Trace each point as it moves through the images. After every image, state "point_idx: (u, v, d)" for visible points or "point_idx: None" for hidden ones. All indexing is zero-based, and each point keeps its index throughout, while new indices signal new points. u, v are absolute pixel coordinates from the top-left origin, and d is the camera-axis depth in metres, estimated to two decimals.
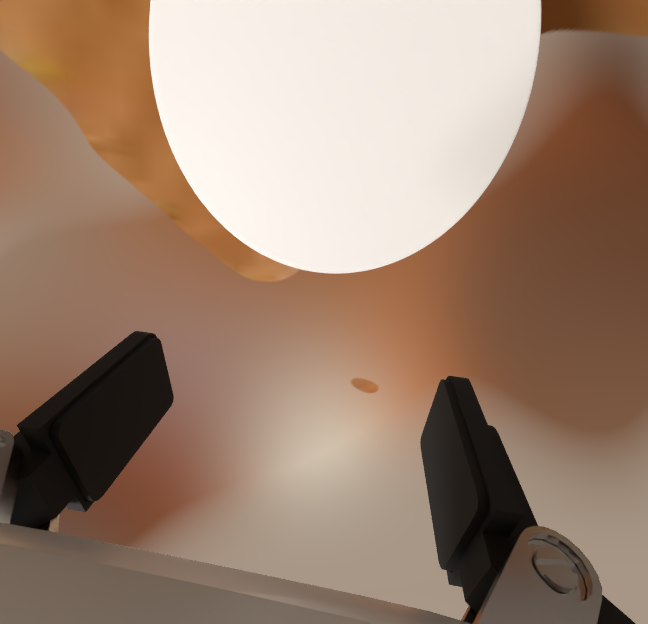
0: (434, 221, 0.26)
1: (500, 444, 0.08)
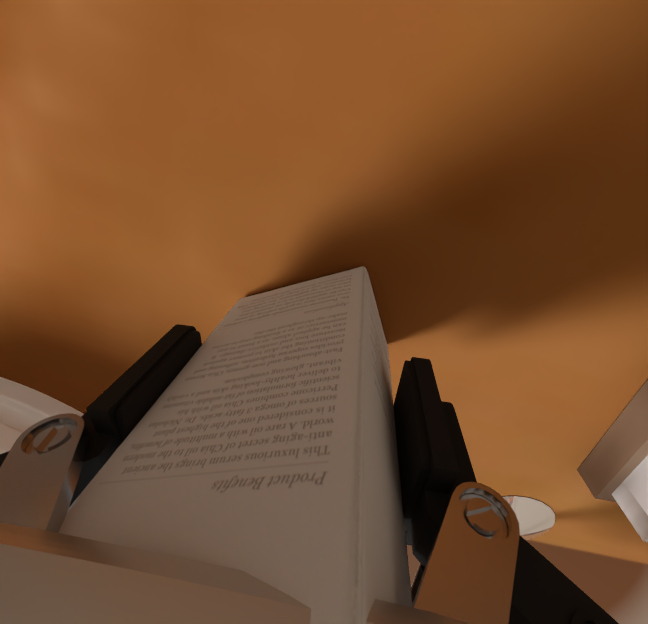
0: None
1: (455, 418, 0.09)
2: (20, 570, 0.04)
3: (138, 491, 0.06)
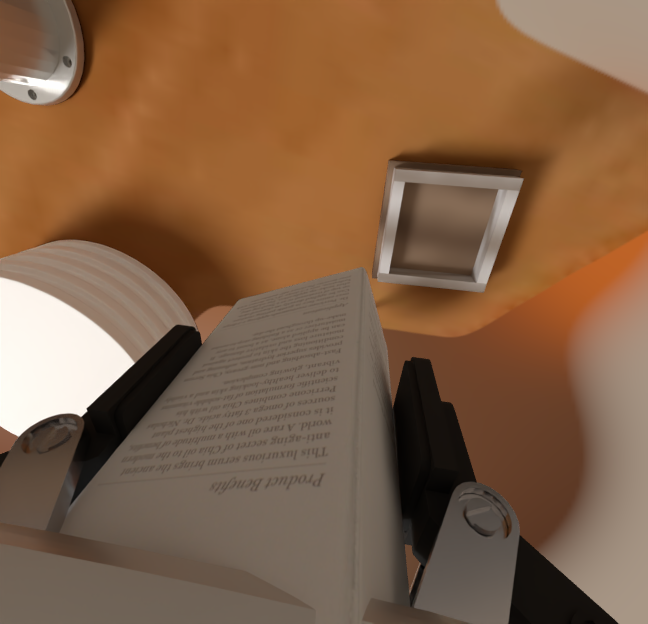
0: None
1: (455, 418, 0.09)
2: (20, 570, 0.04)
3: (137, 493, 0.06)
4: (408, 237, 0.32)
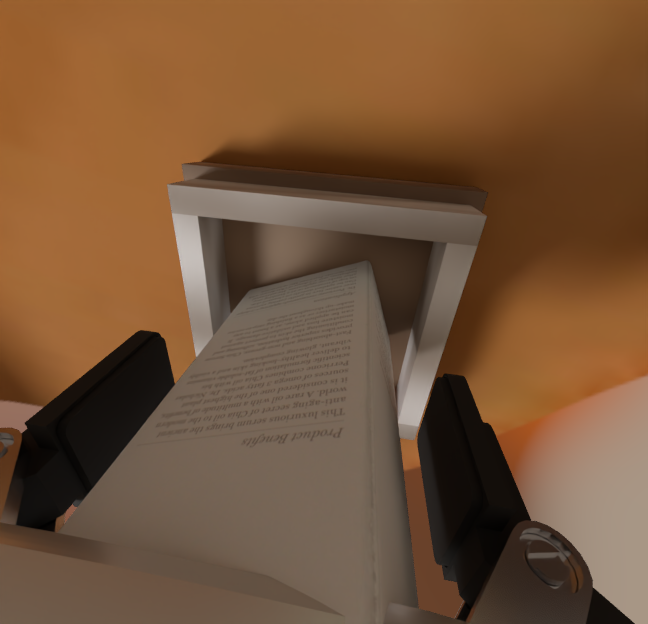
0: None
1: (496, 441, 0.08)
2: (20, 570, 0.04)
3: (174, 449, 0.06)
4: None
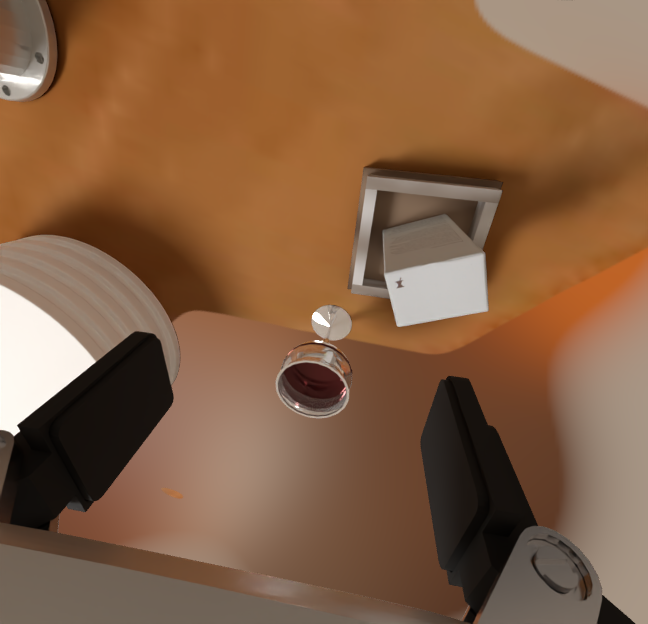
0: None
1: (500, 444, 0.08)
2: (20, 570, 0.04)
3: (407, 253, 0.22)
4: None
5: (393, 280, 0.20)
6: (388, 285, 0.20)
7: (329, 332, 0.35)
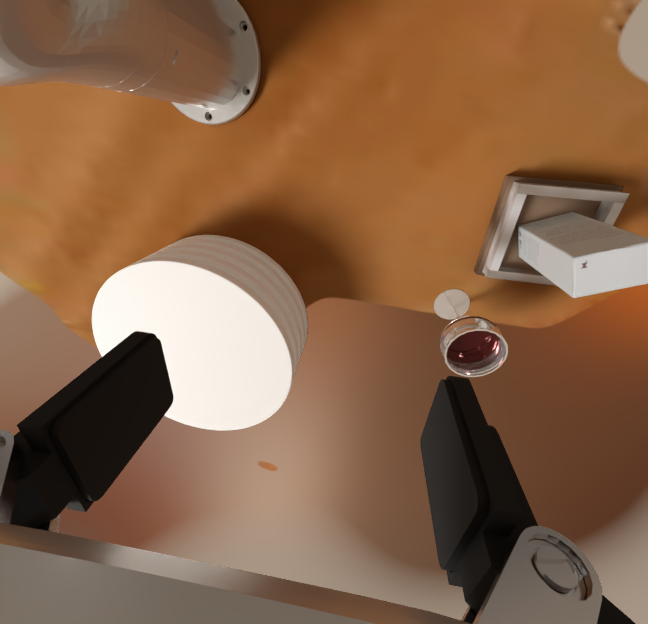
0: (262, 412, 0.45)
1: (501, 444, 0.08)
2: (20, 570, 0.04)
3: (576, 243, 0.29)
4: (515, 240, 0.38)
5: (580, 263, 0.27)
6: (574, 266, 0.27)
7: (456, 311, 0.43)
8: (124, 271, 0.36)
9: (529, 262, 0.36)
